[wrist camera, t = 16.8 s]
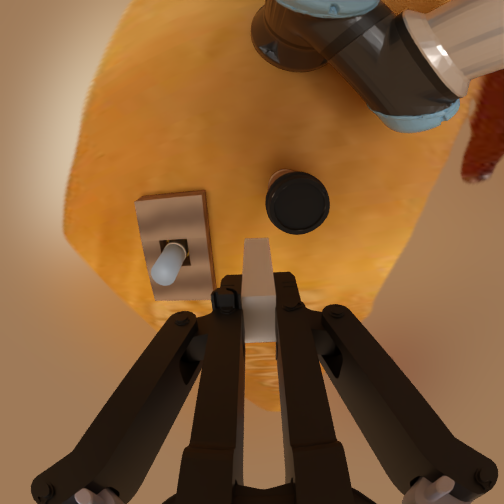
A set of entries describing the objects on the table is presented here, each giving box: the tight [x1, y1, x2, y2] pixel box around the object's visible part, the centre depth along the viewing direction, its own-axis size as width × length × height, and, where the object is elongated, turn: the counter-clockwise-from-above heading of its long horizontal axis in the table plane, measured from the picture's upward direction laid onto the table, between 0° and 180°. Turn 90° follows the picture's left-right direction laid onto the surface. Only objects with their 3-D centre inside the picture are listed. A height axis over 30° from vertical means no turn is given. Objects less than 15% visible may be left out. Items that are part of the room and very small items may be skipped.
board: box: [135, 190, 216, 301], centre depth 50 cm, size 20×12×4 cm, turn 3°
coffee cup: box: [265, 169, 330, 235], centre depth 41 cm, size 8×8×15 cm
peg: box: [151, 239, 189, 286], centre depth 46 cm, size 4×4×12 cm
